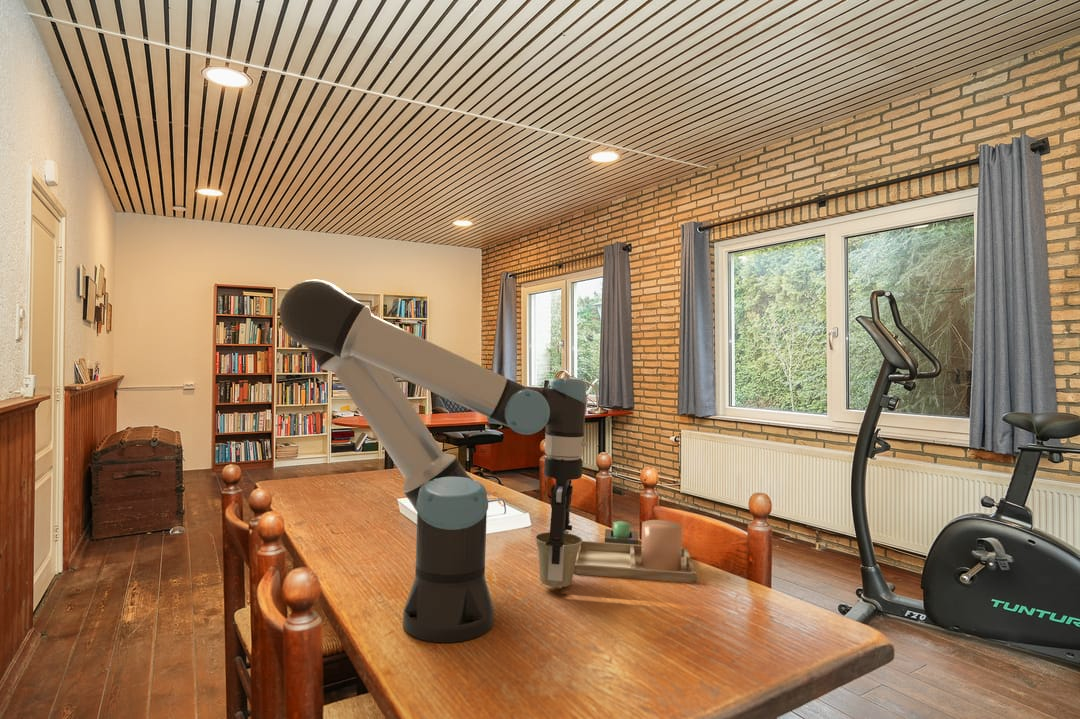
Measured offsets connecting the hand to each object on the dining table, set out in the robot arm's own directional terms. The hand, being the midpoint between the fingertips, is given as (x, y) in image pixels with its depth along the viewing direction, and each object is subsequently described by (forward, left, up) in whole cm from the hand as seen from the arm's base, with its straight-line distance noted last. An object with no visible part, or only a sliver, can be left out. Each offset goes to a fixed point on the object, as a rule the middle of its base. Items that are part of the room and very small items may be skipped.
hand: (557, 571), depth 117 cm
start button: (+31, -13, -3) cm, 34 cm away
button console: (+31, -13, -4) cm, 34 cm away
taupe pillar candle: (+16, -21, -3) cm, 27 cm away
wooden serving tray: (+16, -15, -4) cm, 22 cm away
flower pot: (0, 0, -2) cm, 2 cm away
